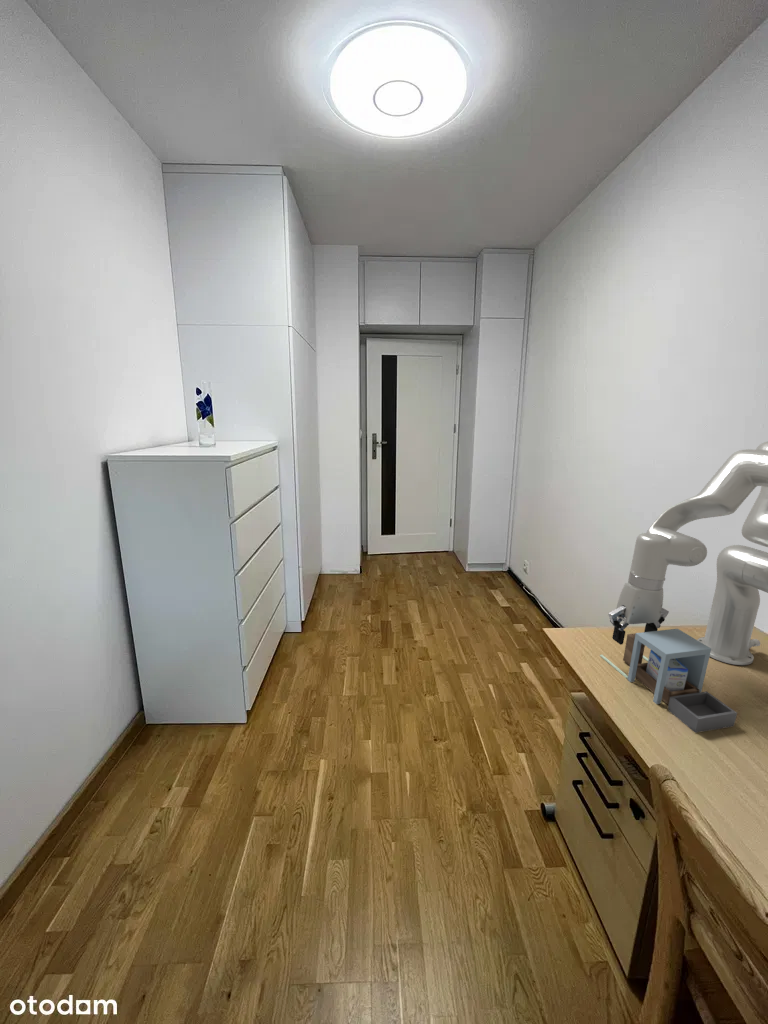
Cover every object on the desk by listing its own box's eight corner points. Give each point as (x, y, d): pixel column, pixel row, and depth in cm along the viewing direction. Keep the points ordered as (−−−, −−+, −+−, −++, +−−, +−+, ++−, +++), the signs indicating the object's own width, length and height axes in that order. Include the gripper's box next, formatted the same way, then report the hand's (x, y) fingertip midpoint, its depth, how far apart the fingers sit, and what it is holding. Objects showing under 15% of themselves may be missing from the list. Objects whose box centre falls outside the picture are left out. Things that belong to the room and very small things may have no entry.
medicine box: (644, 678, 105) (649, 648, 102) (661, 678, 104) (667, 648, 102) (663, 699, 97) (669, 668, 95) (682, 699, 97) (689, 668, 95)
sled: (640, 658, 112) (644, 632, 110) (697, 700, 96) (704, 671, 94) (615, 661, 111) (619, 635, 109) (668, 705, 94) (675, 675, 92)
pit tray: (703, 704, 95) (706, 691, 95) (733, 726, 89) (737, 712, 88) (667, 709, 94) (670, 696, 93) (695, 732, 87) (698, 719, 86)
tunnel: (668, 674, 106) (677, 628, 103) (699, 697, 98) (711, 648, 94) (627, 679, 104) (635, 633, 101) (656, 704, 95) (666, 654, 92)
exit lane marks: (636, 651, 116) (636, 650, 116) (666, 673, 107) (666, 672, 106) (599, 655, 114) (599, 654, 114) (626, 678, 104) (626, 677, 104)
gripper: (662, 574, 109) (649, 630, 113) (605, 576, 106) (595, 635, 110) (687, 585, 102) (672, 645, 106) (627, 589, 99) (615, 650, 103)
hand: (633, 640), depth 108 cm, fingers open, 9 cm apart
